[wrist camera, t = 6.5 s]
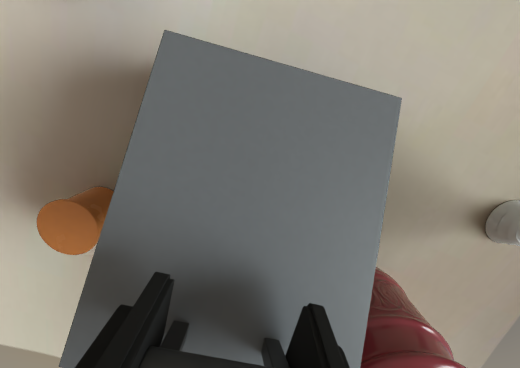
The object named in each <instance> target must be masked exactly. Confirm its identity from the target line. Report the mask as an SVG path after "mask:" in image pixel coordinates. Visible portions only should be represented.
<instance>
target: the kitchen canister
mask: <svg viewBox="0 0 520 368" xmlns="http://www.w3.org/2000/svg"><path fill="white" fill-rule="evenodd" d="M360 368H466V367H465V366H463V365H461V364H459V363H458V362H456V361H454V358H453V354H452V351H451V349H450V347H449V345H448V343H447V342H446V340H445V339H444V338H443V336H442V335H441V334H440V333H439V332H437V331H436V330H435V329H434V328H432V327H431V326H430V324H429V323H428V322H427V321H426V320H425V318H424V317H423V316H422V315H421V314H420V312H419V311H418V310H417V309H416V308H415V306H414V305H413V304H412V303H411V302H410V300H409V299H408V297H407V295H406V294H405V292H404V291H403V289H402V288H401V287H400V286H399V285H398V284H397V282H396V281H395V280H394V279H392V278H391V277H390V276H389V275H387V274H386V273H384V272H383V271H382V270H380V269H379V268H377V267H376V269H375V275H374V282H373V288H372V295H371V301H370V308H369V314H368V321H367V327H366V334H365V340H364V347H363V353H362V359H361V366H360Z"/></svg>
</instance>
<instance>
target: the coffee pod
mask: <svg viewBox="0 0 520 368" xmlns="http://www.w3.org/2000/svg"><path fill="white" fill-rule="evenodd" d="M113 192H114V191H112V190H110V189H108V188H105V187H93V188H90V189H88V190H86V191H84V192H82V193H79V194H77V195H75V196H73V197H70V198H68V199H59V200H55V201H52V202H50V203H48V204H46V205H45V206H44V207H43V208H42V209H41V210H40V212H39V214H38V217H37V228H38V231H39V234H40V236H41V237H42V239H43V240H44V241H45V243H47V244H48V245H49V246H50V247H51V248H53V249H54V250H56V251H58V252H61V253H64V254H69V255H78V254H82V253H85V252H87V251H89V250H90V249H92V248H93V247H94V246H95V245H96V244H97V242H98V240H99V237H100V233H101V230H102V227H103V224H104V221H105V218H106V214H107V211H108V208H109V205H110V202H111V199H112V195H113Z"/></svg>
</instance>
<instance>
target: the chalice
mask: <svg viewBox="0 0 520 368" xmlns="http://www.w3.org/2000/svg"><path fill="white" fill-rule="evenodd" d="M486 233H487V235H488V237H489V238H490V239H491V240H492V241H494V242H497V243H506V244H512V245H517V246H520V201H519V200H512V201H508V202H505V203H503V204H501V205H499V206H498V207H497V208H496V209H494V210H493V211H492V213H491V214H490V216H489V217H488V219H487V222H486Z"/></svg>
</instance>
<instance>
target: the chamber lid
mask: <svg viewBox="0 0 520 368" xmlns="http://www.w3.org/2000/svg"><path fill="white" fill-rule="evenodd" d="M401 100H402V98H400V97H396V96H393V95H389V94H386V93H382V92H379V91H376V90H372V89H369V88H365V87H362V86H358V85H355V84H351V83H348V82H344V81H341V80H337V79H334V78H330V77H327V76H323V75H320V74H316V73H313V72H310V71H306V70H303V69H299V68H296V67H292V66H289V65H285V64H282V63H278V62H275V61H271V60H268V59H264V58H261V57H257V56H254V55H250V54H247V53H244V52H240V51H237V50H233V49H230V48H226V47H223V46H219V45H216V44H212V43H209V42H205V41H202V40H198V39H195V38H191V37H188V36H184V35H181V34H178V33H174V32H171V31H167V30H164V33H163V36H162V40H161V43H160V46H159V49H158V52H157V55H156V59H155V62H154V65H153V68H152V71H151V75H150V78H149V81H148V84H147V87H146V90H145V94H144V97H143V100H142V103H141V106H140V109H139V113H138V116H137V119H136V122H135V125H134V129H133V132H132V135H131V138H130V141H129V144H128V148H127V151H126V154H125V157H124V160H123V164H122V167H121V170H120V173H119V176H118V179H117V183H116V186H115V189H114V192H113V195H112V199H111V202H110V205H109V208H108V211H107V214H106V218H105V221H104V224H103V227H102V230H101V233H100V237H99V240H98V243H97V246H96V249H95V253H94V256H93V259H92V262H91V265H90V268H89V272H88V275H87V278H86V281H85V284H84V288H83V291H82V294H81V297H80V300H79V303H78V307H77V310H76V313H75V316H74V319H73V322H72V326H71V329H70V332H69V335H68V338H67V342H66V345H65V348H64V351H63V354H62V357H61V361H60V364H59V367H62V368H75V367H76V365H77V364H78V362H79V361H80V360H81V358H82V357H83V355H84V354H85V353H86V351H87V350H88V348H89V347H90V346H91V344H92V343H93V341H94V340H95V339H96V337H97V336H98V334H99V333H100V332H101V330H102V329H103V327H104V326H105V325H106V323H107V322H108V320H109V319H110V318H111V316H112V315H113V313H114V312H115V310H116V309H117V308H118V307H119V306H120V305H121V304H123V305H128V306H134V304H135V303H136V301H137V299H138V298H139V296H140V295H141V293H142V292H143V290H144V288H145V287H146V285H147V284H148V282H149V281H150V279H151V277H152V276H153V274H154V273H155V272H161V273H165V274H170V279H174V286H173V291H172V296H171V301H170V306H169V311H168V316H167V321H166V327H165V332H164V336H163V339H162V342H161V345H160V347H155V346H150V347H149V348H148V350H147V351H146V353H145V355H144V357H143V359H142V361H141V363H140V365H139V368H290V367H289V364H288V362H287V359H286V357H285V355H286V352H287V350H288V347H289V344H290V341H291V338H292V336H293V333H294V330H295V327H296V325H297V322H298V319H299V316H300V314H301V311H302V308H303V306H307V305H308V304H309V303H312V304H317V305H322V306H323V307H324V308H325V311H326V314H327V316H328V319H329V322H330V325H331V328H332V330H333V333H334V336H335V339H336V341H337V344H338V346H340V347H341V348H342V349H343V351H344V353H345V356H346V359H347V361H348V364H349V367H350V368H360V366H361V359H362V353H363V347H364V340H365V334H366V327H367V321H368V314H369V308H370V301H371V295H372V288H373V282H374V275H375V269H376V262H377V256H378V249H379V243H380V236H381V230H382V223H383V217H384V210H385V204H386V197H387V191H388V184H389V178H390V171H391V165H392V158H393V152H394V145H395V139H396V132H397V126H398V119H399V113H400V106H401Z"/></svg>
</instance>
